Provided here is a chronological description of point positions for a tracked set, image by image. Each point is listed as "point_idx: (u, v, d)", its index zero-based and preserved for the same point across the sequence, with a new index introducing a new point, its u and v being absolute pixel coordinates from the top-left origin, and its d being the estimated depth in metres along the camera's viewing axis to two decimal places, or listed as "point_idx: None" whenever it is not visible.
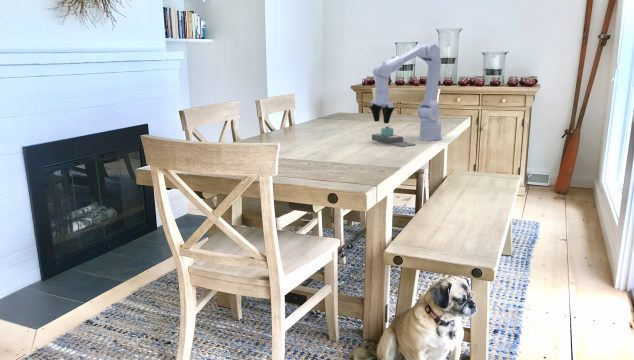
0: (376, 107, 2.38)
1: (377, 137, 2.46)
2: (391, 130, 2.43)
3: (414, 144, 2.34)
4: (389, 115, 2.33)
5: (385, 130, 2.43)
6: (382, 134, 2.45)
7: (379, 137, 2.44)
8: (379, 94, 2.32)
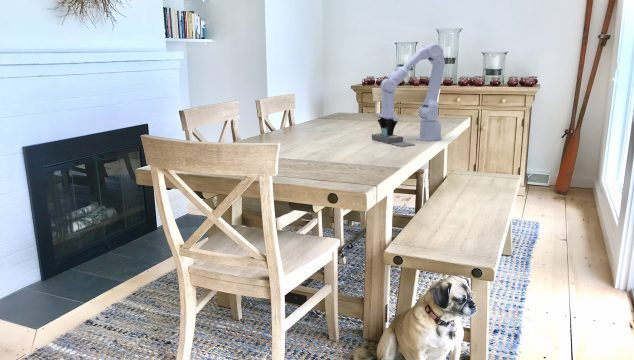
0: (384, 120, 2.45)
1: (377, 137, 2.46)
2: None
3: (414, 144, 2.34)
4: (393, 128, 2.42)
5: (385, 130, 2.43)
6: (382, 134, 2.45)
7: (379, 137, 2.44)
8: (385, 108, 2.40)
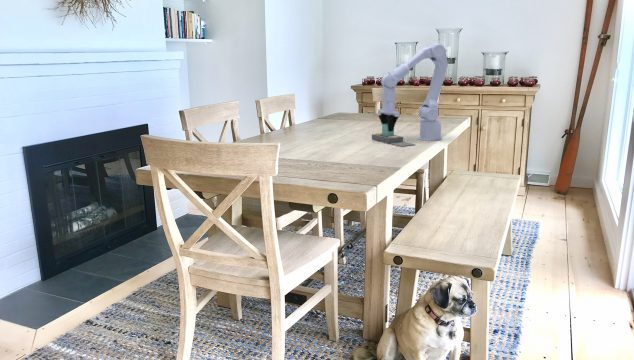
0: (385, 116, 2.45)
1: (377, 137, 2.46)
2: None
3: (414, 144, 2.34)
4: (393, 123, 2.42)
5: (386, 126, 2.42)
6: (383, 130, 2.45)
7: (379, 137, 2.44)
8: (386, 104, 2.40)
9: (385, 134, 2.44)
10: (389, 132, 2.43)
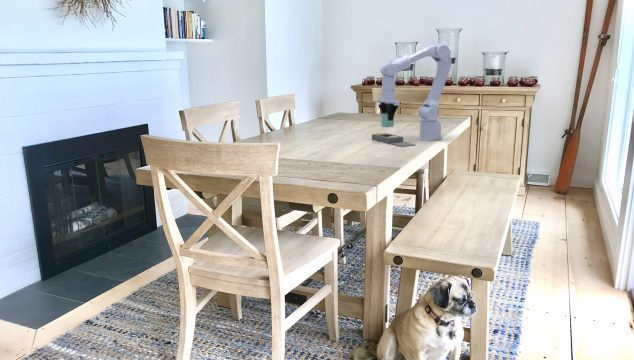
0: (384, 105, 2.44)
1: (377, 137, 2.46)
2: None
3: (414, 144, 2.34)
4: (393, 112, 2.40)
5: (385, 115, 2.41)
6: (382, 119, 2.43)
7: (379, 137, 2.44)
8: (386, 93, 2.38)
9: (384, 123, 2.42)
10: (389, 121, 2.42)
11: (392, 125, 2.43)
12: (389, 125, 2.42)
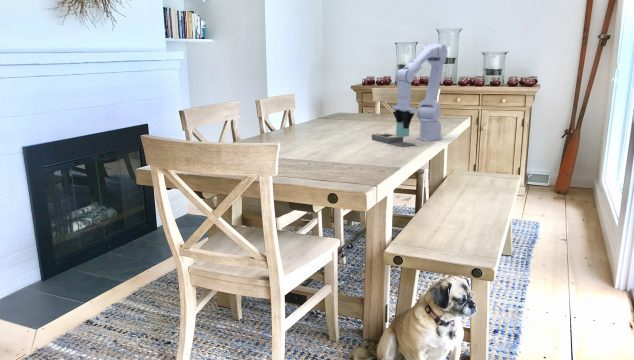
0: (400, 113, 2.34)
1: (377, 137, 2.46)
2: None
3: (414, 144, 2.34)
4: (409, 120, 2.31)
5: (401, 124, 2.31)
6: (397, 129, 2.34)
7: (379, 137, 2.44)
8: (401, 100, 2.28)
9: (399, 133, 2.33)
10: (404, 131, 2.32)
11: (407, 135, 2.33)
12: (404, 135, 2.33)
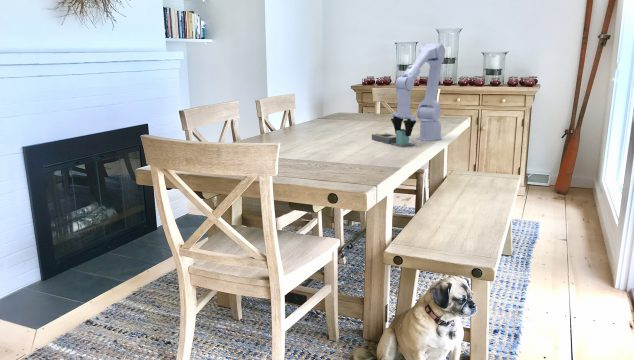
0: (397, 119, 2.36)
1: (377, 137, 2.46)
2: None
3: (414, 144, 2.34)
4: (411, 128, 2.30)
5: (400, 132, 2.32)
6: (397, 137, 2.35)
7: (379, 137, 2.44)
8: (401, 107, 2.29)
9: (399, 141, 2.34)
10: (404, 139, 2.33)
11: (407, 142, 2.34)
12: (404, 143, 2.33)
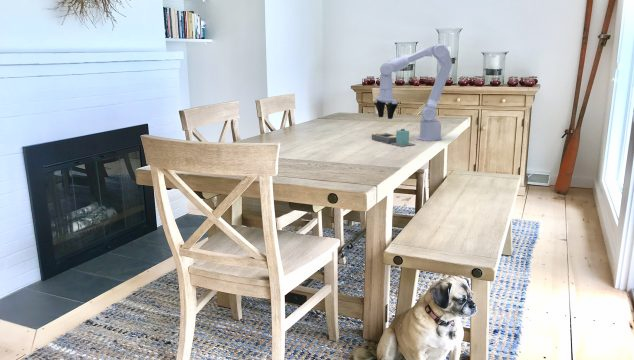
0: (380, 103, 2.51)
1: (377, 137, 2.46)
2: (407, 132, 2.33)
3: (414, 144, 2.34)
4: (393, 111, 2.46)
5: (400, 132, 2.32)
6: (397, 137, 2.35)
7: (379, 137, 2.44)
8: (383, 91, 2.45)
9: (399, 141, 2.34)
10: (404, 139, 2.33)
11: (407, 142, 2.34)
12: (404, 143, 2.33)
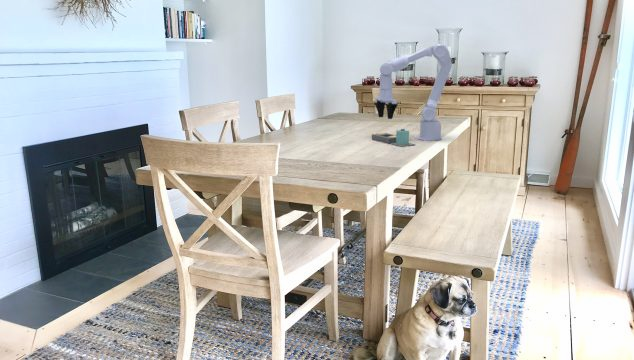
0: (380, 103, 2.52)
1: (377, 137, 2.46)
2: (407, 132, 2.33)
3: (414, 144, 2.34)
4: (393, 111, 2.46)
5: (400, 132, 2.32)
6: (397, 137, 2.35)
7: (379, 137, 2.44)
8: (383, 91, 2.45)
9: (399, 141, 2.34)
10: (404, 139, 2.33)
11: (407, 142, 2.34)
12: (404, 143, 2.33)
